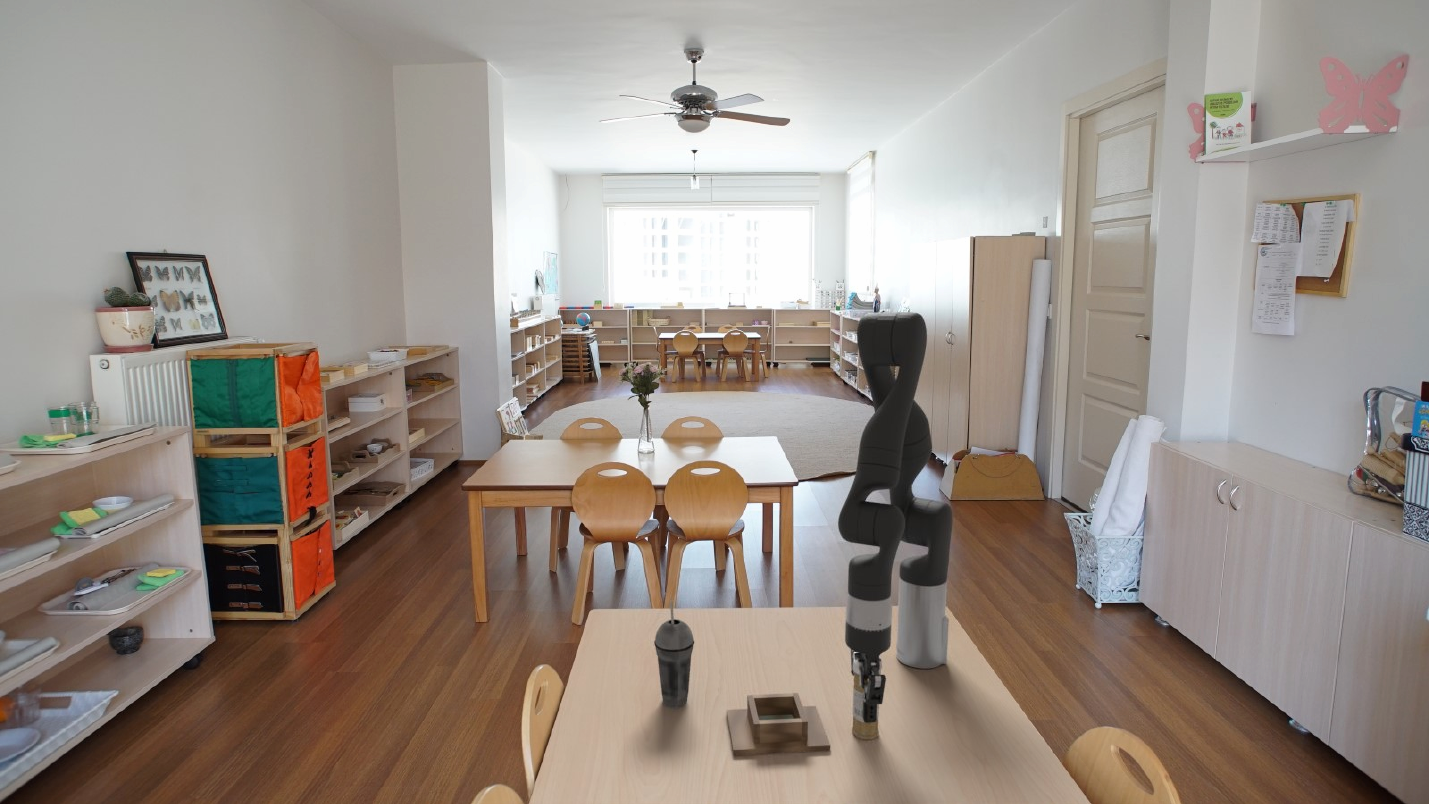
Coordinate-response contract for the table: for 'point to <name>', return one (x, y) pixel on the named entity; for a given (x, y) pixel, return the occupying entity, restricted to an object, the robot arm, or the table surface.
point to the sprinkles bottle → (861, 711)
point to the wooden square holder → (776, 726)
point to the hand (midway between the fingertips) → (865, 712)
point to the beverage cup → (674, 660)
